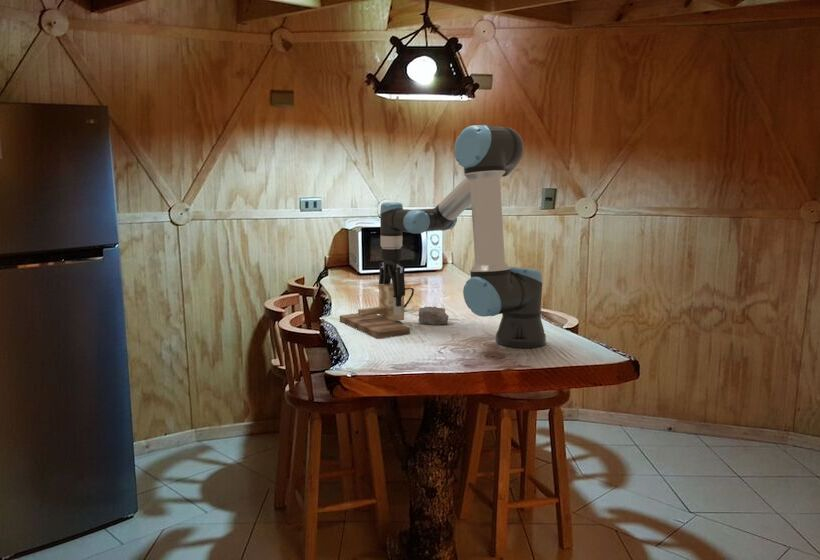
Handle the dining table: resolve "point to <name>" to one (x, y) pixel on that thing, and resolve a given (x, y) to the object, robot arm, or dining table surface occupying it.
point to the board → (375, 325)
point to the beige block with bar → (384, 304)
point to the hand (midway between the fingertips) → (391, 313)
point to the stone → (432, 316)
